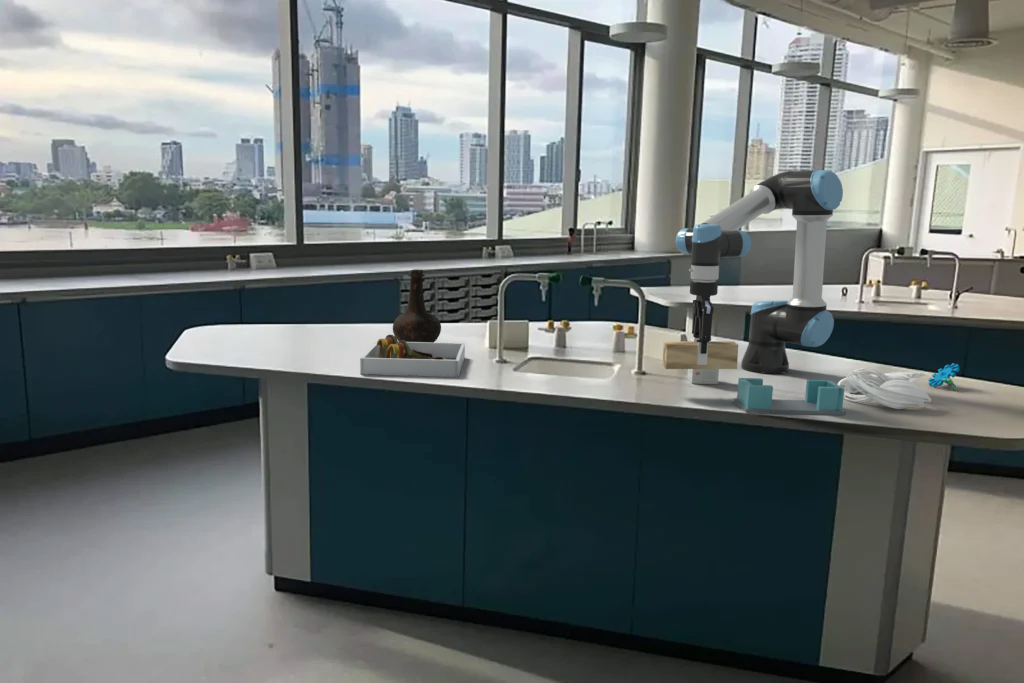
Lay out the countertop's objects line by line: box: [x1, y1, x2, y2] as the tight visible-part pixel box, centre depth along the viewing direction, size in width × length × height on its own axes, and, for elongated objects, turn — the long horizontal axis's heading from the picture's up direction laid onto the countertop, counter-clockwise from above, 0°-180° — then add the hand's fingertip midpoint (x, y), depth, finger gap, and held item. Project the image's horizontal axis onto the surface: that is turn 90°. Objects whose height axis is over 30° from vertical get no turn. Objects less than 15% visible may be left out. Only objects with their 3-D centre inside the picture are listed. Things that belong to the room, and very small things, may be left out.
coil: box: [837, 367, 932, 410], centre depth 213 cm, size 25×24×9 cm
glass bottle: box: [392, 268, 442, 343], centre depth 277 cm, size 18×18×28 cm
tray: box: [359, 340, 466, 378], centre depth 244 cm, size 29×30×5 cm
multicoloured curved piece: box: [376, 334, 447, 360], centre depth 244 cm, size 24×24×10 cm
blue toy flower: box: [928, 362, 960, 391], centre depth 232 cm, size 11×6×10 cm
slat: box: [662, 340, 739, 370], centre depth 214 cm, size 4×20×7 cm, turn 91°
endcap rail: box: [733, 377, 846, 416], centre depth 203 cm, size 11×26×7 cm, turn 90°
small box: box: [687, 338, 720, 385], centre depth 231 cm, size 8×6×13 cm
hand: (699, 362), depth 214 cm, fingers closed on slat, 4 cm apart
